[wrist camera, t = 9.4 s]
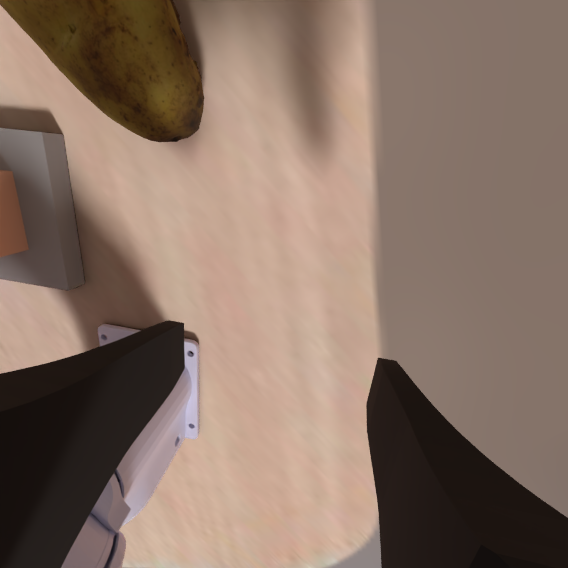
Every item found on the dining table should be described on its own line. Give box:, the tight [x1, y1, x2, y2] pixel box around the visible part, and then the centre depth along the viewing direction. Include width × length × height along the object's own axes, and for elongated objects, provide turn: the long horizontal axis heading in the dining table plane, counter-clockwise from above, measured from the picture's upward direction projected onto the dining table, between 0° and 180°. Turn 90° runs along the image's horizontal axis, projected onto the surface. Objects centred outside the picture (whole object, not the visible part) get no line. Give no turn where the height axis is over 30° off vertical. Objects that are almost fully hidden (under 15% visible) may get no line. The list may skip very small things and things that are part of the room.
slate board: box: [0, 128, 85, 291], centre depth 21 cm, size 10×10×2 cm
